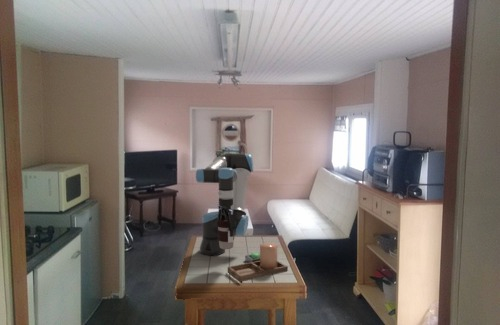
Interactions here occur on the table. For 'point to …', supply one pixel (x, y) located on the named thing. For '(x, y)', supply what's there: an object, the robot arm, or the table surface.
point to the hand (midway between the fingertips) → (226, 239)
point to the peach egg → (268, 256)
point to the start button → (255, 255)
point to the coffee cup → (224, 234)
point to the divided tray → (253, 270)
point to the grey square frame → (251, 259)
